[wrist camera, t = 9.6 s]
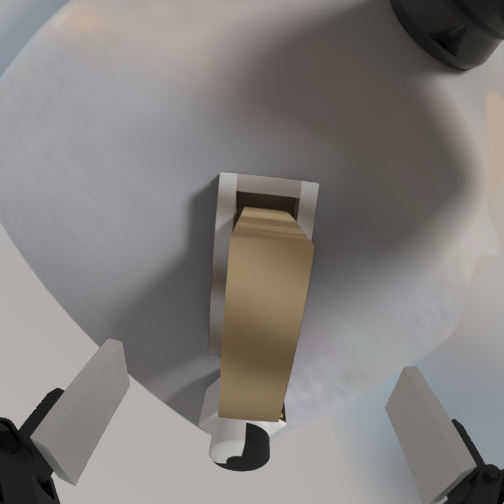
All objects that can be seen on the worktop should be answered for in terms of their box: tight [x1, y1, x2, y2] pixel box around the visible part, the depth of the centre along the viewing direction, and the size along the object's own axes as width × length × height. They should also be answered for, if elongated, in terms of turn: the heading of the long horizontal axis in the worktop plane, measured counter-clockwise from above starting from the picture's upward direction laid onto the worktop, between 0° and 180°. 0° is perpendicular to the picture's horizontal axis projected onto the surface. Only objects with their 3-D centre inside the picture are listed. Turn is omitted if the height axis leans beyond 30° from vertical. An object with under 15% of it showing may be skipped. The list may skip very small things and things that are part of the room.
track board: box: [208, 172, 319, 355], centre depth 28 cm, size 18×9×4 cm, turn 174°
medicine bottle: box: [198, 377, 286, 471], centre depth 28 cm, size 7×7×12 cm
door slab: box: [218, 206, 315, 422], centre depth 22 cm, size 12×4×14 cm, turn 174°
